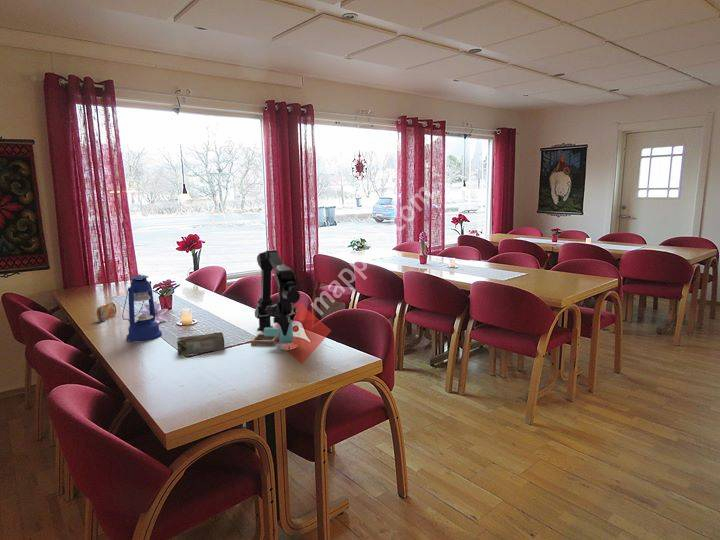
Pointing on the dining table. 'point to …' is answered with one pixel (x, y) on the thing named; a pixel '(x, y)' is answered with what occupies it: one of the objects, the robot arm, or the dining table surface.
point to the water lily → (156, 306)
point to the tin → (106, 311)
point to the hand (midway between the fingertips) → (286, 333)
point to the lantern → (145, 323)
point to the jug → (280, 333)
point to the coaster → (283, 347)
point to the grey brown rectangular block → (200, 343)
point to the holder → (262, 342)
